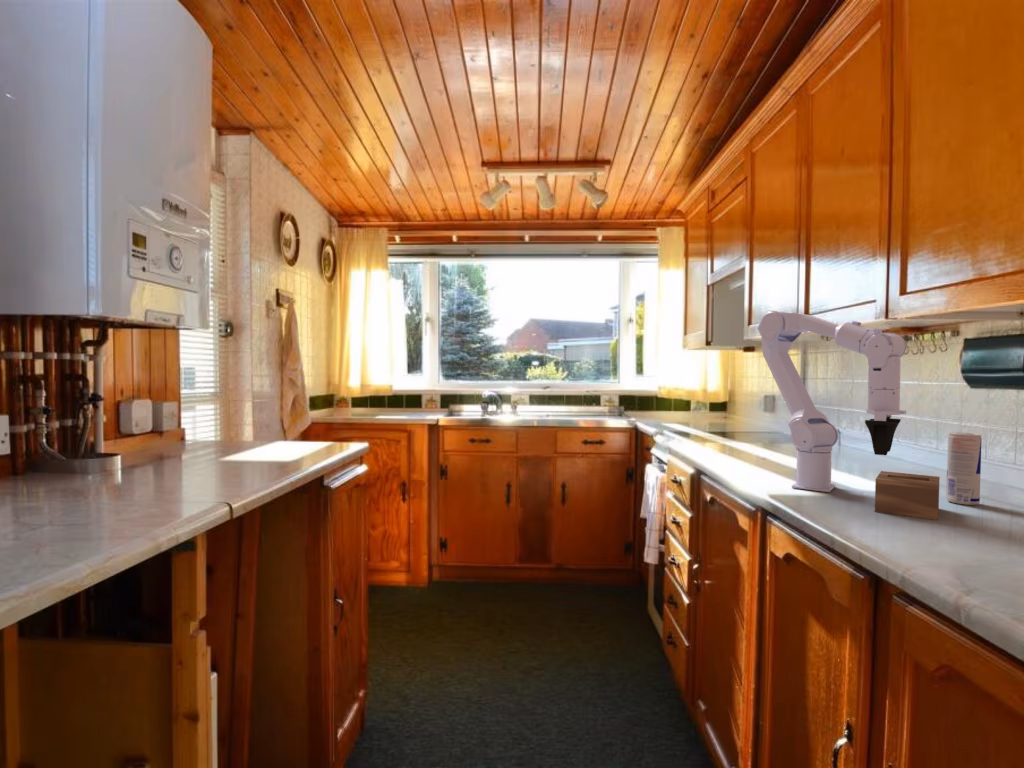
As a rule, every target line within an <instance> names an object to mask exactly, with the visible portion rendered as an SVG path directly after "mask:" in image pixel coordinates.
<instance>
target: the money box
mask: <svg viewBox="0 0 1024 768" xmlns="http://www.w3.org/2000/svg"><path fill="white" fill-rule="evenodd" d="M940 477H941V476H938V475H928V474H927V475H925V474H916V473H907V472H906V473H903V472H895V471H886V470H884V471H883V470H880V472H879V474H878V475H877V476H876V477H875V485H874V486H875V487H874V488H875V489H874V492H875V493H874V512H875V511H876V513H882V512H883V513H884V514H889V513H892V514H891V515H896V514H898V515H897V516H904V515H906V516H905V517H911V516H912V517H913V518H920V519H928V520H933V521H938V520H939V512H940V511H939V505H940Z"/></svg>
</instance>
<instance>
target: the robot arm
mask: <svg viewBox="0 0 1024 768" xmlns="http://www.w3.org/2000/svg"><path fill="white" fill-rule="evenodd" d="M757 330H758V332H759V334H760V336H761V349H762V350H761V351H762V352H761V353H762V356H763V358H764V361H765V362H766V364H767V367H768V368H769V371H770V374H771V375H772V377H773V380H774V381H775V383H776V385H777V387H778V389H779V391H780V394H781V396H782V398H783V400H784V402H785V404H786V407H787V409H788V410H789V413H790V416H791V418H790V420H789V421H788V424H787V425H788V427H789V429H790V439H791V442H792V443H793V445H794V446H795V450H796V479H795V481H796V482H795V483H793V484H792V485H791V488H794V489H800V490H807V491H816V492H824V493H831V491H833V489H834V488H835V487H836V484H835V483H832V451H833V447H834V446H835V445H836V444H837V442H838V440H839V432H838V429H837V427H835V425H833V423H831V422H830V421H829V420H828V418H827V416H826V415H825V414H824V413H822V412H821V411H820V410H818V409H817V408H816V406H815V404H814V402H813V400H812V398H811V397H810V394H809V392H808V390H807V389H806V387H805V384H804V382H803V380H802V378H801V376H800V374H799V372H798V370H797V368H796V366H795V364H794V362H793V360H792V358H791V356H790V354H789V352H790V349H791V348H792V346H793V345H794V344H795V343H796V341H797V340H798V338H800V336H801V335H802V333H808V332H811V333H814V334H817V335H821V336H824V337H828V338H831V339H833V340H834V342H835V344H836V345H837V346H838V347H840V348H843V349H847V350H850V351H853V352H856V353H859V354H862V355H864V356H865V357H866V358H867V361H868V362H867V365H868V375H867V376H868V377H867V379H868V382H867V383H868V384H867V409H866V414H868V415H869V414H870V415H874V416H873V418H869V419H865V420H864V424H865V426H866V428H867V429H868V432H869V434H870V438H871V443H872V444H871V445H872V449H873V453H874V455H876V456H877V455H878V456H887V455H888V452H890V451H891V449H892V445H893V441H894V436H895V432H896V431H897V428H898V426H899V424H900V422H901V418H892V416H898V415H906V414H907V410H902V409H901V410H900V408H901V407H900V402H901V399H900V397H901V359H902V357H903V356H904V355H905V353H906V351H907V342H906V340H905V339H904V338H903V337H902V336H901V335H898V334H897V333H896V332H895V333H894V332H888V333H885V332H884V333H883V330H882V328H878V327H875V328H871V327H867V326H863V325H862V322H860V321H857V320H855V321H854V320H852V322H849V321H847V322H844V323H843V324H840V325H839V324H837V323H834V322H831V321H828V320H826V319H822V318H819V317H817V316H813V315H811V314H802V313H797V312H786V311H785V312H784V311H778V310H768V311H766V312H765V313H764V314H763V315H762V316H761V319H760V321H759V324H758V326H757Z"/></svg>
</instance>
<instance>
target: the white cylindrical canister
mask: <svg viewBox="0 0 1024 768" xmlns="http://www.w3.org/2000/svg"><path fill="white" fill-rule="evenodd" d="M947 434H948V436H947V459H946V461H947V462H946V463H947V464H946V489H945V490H946V492H945V493H946V494H945V495H946V496H945V497H946V499H945V500H947V501H949V502H951V503H952V504H957V505H962V506H963V505H964V506H976V505H979V504H980V502H981V501H980V500H981V470H982V469H981V468H982V467H981V466H982V434H979V433H973V432H961V431H959V432H958V431H957V432H956V431H952V432H949V431H948V433H947Z"/></svg>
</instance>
